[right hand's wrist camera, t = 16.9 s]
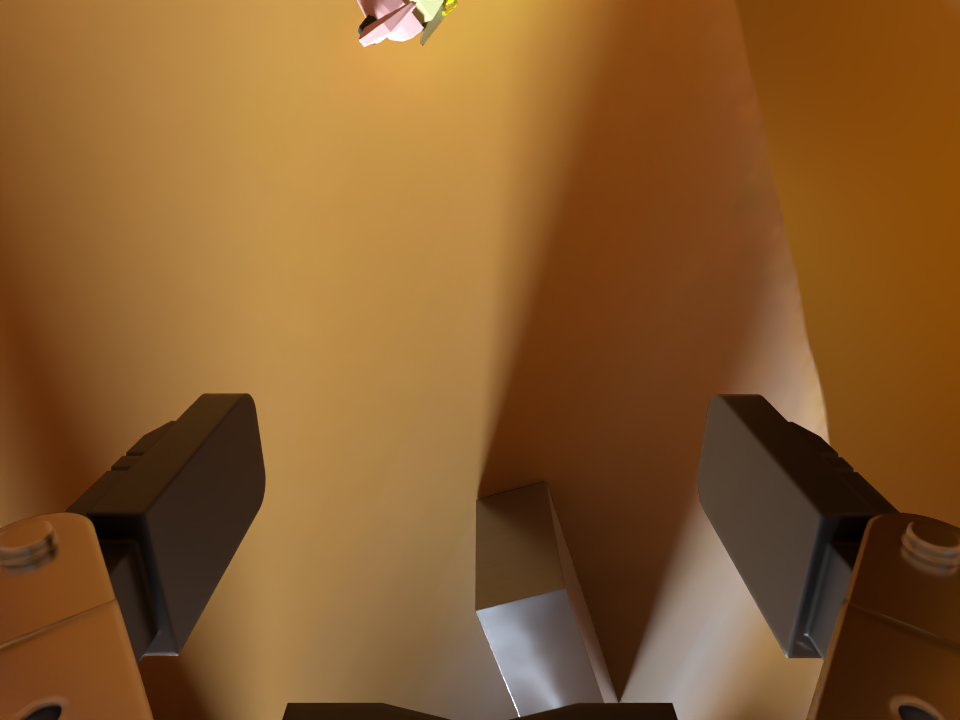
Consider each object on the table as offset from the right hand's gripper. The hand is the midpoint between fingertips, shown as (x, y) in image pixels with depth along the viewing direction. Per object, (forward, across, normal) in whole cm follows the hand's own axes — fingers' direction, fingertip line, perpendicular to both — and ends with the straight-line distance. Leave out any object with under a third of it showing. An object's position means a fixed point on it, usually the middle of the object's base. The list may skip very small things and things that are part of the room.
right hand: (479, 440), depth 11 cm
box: (+32, -6, +34) cm, 47 cm away
